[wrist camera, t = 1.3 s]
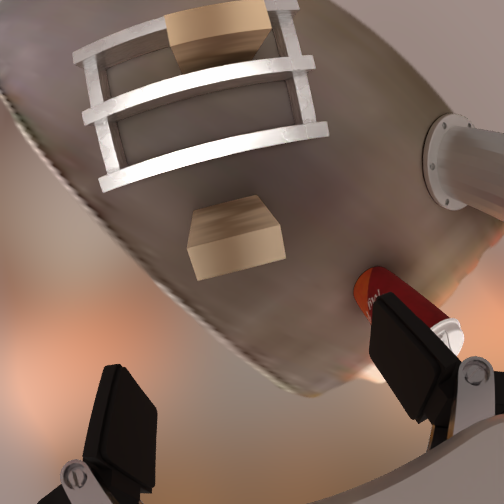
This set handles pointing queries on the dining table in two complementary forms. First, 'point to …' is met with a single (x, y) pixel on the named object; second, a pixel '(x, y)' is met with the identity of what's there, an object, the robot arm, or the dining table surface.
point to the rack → (193, 95)
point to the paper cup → (407, 304)
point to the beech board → (233, 237)
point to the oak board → (217, 34)
